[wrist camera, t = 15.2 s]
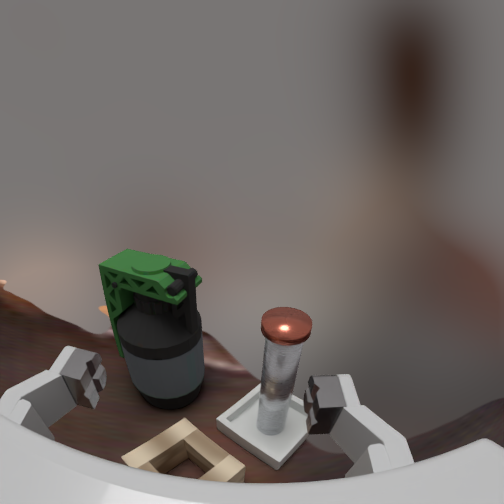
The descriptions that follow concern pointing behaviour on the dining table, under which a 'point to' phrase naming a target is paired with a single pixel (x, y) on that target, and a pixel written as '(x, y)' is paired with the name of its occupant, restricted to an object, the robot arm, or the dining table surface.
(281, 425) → the pin
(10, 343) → the dining table surface
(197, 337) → the grenade
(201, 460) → the block
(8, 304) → the dining table surface
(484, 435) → the dining table surface
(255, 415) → the tray
